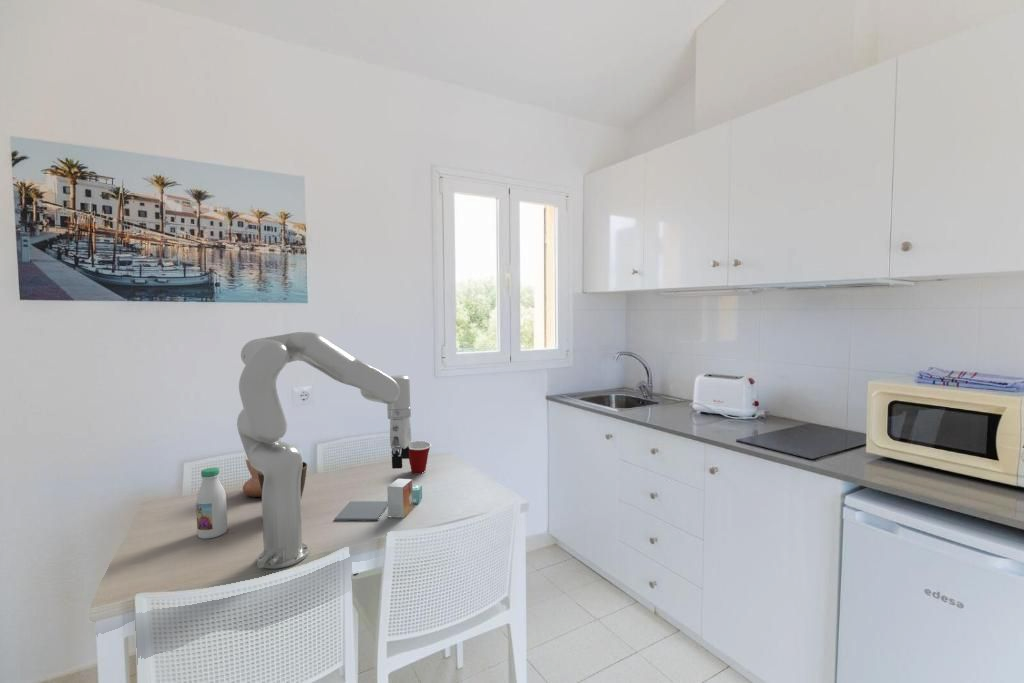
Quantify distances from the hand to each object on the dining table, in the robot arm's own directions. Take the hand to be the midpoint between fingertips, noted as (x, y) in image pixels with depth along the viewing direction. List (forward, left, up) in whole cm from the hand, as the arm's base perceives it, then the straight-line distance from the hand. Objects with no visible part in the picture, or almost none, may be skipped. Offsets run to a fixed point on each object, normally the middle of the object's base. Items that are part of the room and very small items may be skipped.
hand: (401, 463), depth 157 cm
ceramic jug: (+18, +57, -17) cm, 62 cm away
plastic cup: (+42, +3, -17) cm, 45 cm away
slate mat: (+1, +13, -17) cm, 22 cm away
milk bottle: (-15, +54, -17) cm, 59 cm away
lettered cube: (+10, -2, -17) cm, 20 cm away
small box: (0, 0, -17) cm, 17 cm away
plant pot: (-1, +39, -17) cm, 43 cm away
